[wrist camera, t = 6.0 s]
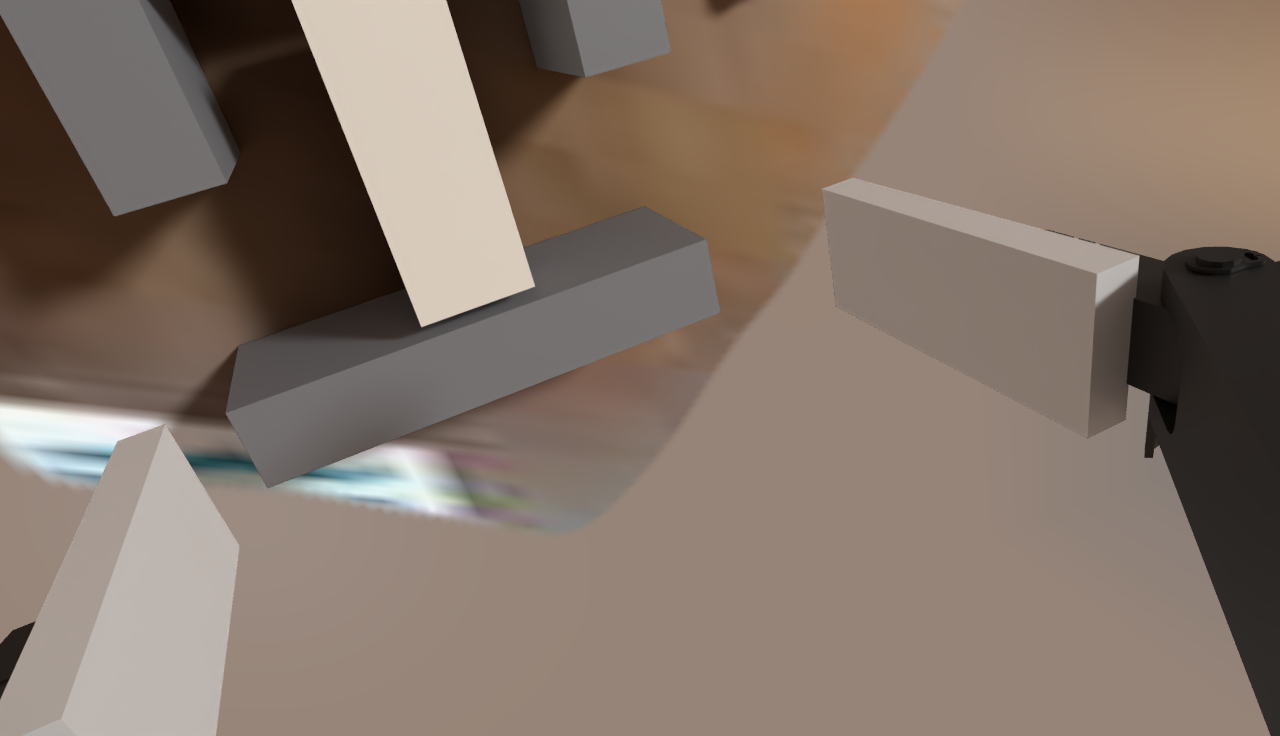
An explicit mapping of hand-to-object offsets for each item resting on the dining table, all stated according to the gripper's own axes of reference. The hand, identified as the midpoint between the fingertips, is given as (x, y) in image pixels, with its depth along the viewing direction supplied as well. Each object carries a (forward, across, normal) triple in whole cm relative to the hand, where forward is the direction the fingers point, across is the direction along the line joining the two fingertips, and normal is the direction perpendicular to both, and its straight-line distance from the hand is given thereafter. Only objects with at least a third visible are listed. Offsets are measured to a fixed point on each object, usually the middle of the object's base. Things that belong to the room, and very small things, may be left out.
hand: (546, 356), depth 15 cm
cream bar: (+14, 0, +2) cm, 14 cm away
